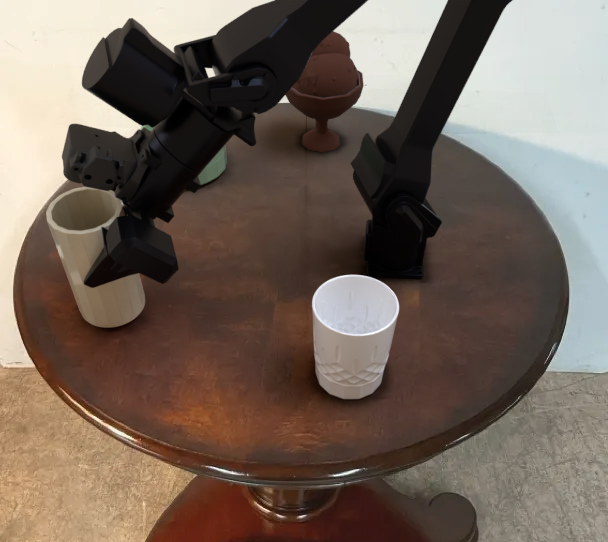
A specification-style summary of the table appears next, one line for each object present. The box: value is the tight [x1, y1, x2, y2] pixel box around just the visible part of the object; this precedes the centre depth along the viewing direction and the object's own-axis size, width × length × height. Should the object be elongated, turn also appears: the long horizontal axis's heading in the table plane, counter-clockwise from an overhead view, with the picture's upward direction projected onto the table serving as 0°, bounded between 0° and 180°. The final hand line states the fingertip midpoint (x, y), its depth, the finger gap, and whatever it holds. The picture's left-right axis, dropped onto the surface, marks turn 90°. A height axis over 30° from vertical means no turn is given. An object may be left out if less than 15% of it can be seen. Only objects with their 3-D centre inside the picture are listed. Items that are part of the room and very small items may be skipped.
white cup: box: [311, 274, 400, 400], centre depth 66 cm, size 8×8×10 cm
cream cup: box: [45, 186, 146, 329], centre depth 70 cm, size 7×7×13 cm
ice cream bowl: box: [285, 30, 364, 153], centre depth 94 cm, size 11×11×15 cm
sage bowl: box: [139, 125, 228, 186], centre depth 92 cm, size 11×11×6 cm
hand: (84, 261), depth 70 cm, fingers closed on cream cup, 7 cm apart
